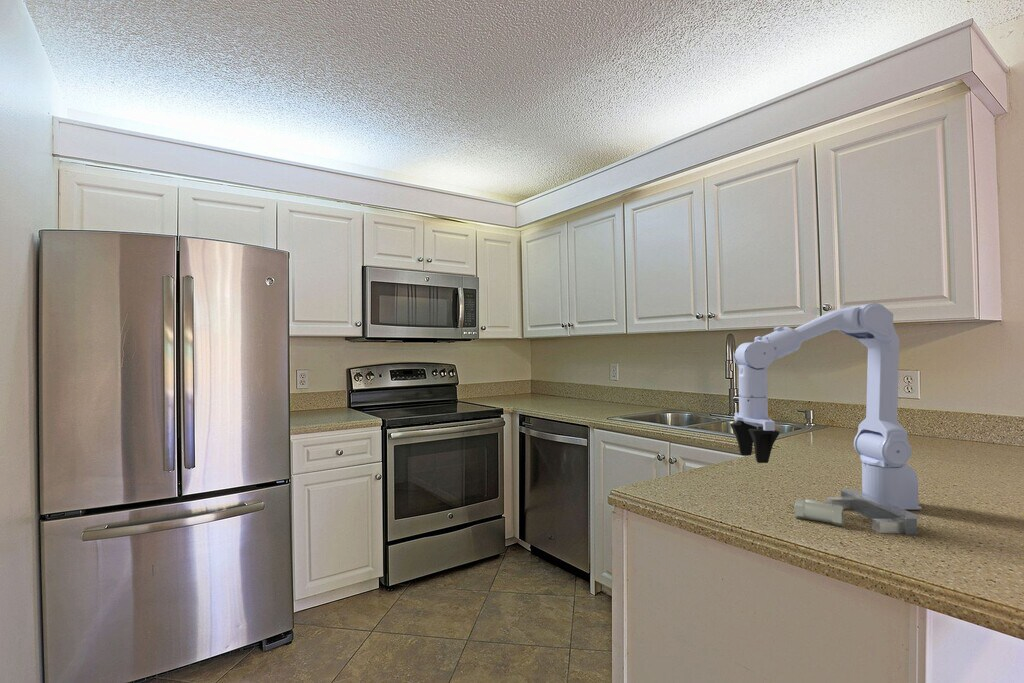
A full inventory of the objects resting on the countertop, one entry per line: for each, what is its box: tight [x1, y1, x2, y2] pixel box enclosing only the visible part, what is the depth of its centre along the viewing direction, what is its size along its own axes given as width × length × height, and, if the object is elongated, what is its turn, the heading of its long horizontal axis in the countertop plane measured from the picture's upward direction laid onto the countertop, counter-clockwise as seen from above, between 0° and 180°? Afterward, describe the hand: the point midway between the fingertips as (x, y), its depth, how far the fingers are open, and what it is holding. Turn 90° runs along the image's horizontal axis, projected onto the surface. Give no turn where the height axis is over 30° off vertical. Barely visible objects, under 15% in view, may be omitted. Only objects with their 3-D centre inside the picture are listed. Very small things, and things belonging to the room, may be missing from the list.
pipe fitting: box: [794, 498, 845, 527], centre depth 100 cm, size 8×4×7 cm
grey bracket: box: [825, 488, 921, 536], centre depth 100 cm, size 7×18×4 cm, turn 0°
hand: (753, 458), depth 109 cm, fingers open, 7 cm apart
